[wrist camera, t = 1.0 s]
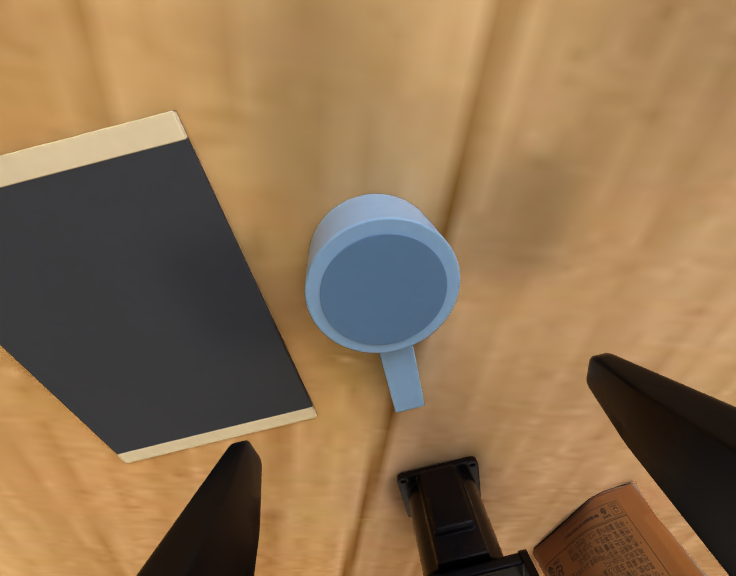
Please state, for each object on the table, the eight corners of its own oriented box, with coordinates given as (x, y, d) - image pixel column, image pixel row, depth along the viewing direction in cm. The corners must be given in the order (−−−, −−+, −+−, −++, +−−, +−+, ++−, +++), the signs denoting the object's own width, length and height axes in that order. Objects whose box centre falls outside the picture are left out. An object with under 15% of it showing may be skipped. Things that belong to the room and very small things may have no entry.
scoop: (290, 212, 15) (280, 242, 12) (428, 177, 15) (455, 198, 11) (355, 396, 21) (360, 447, 18) (451, 372, 21) (473, 419, 18)
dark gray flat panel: (317, 413, 21) (316, 417, 21) (128, 458, 22) (125, 463, 21) (175, 110, 12) (172, 110, 12) (-149, 195, 13) (-160, 197, 12)
